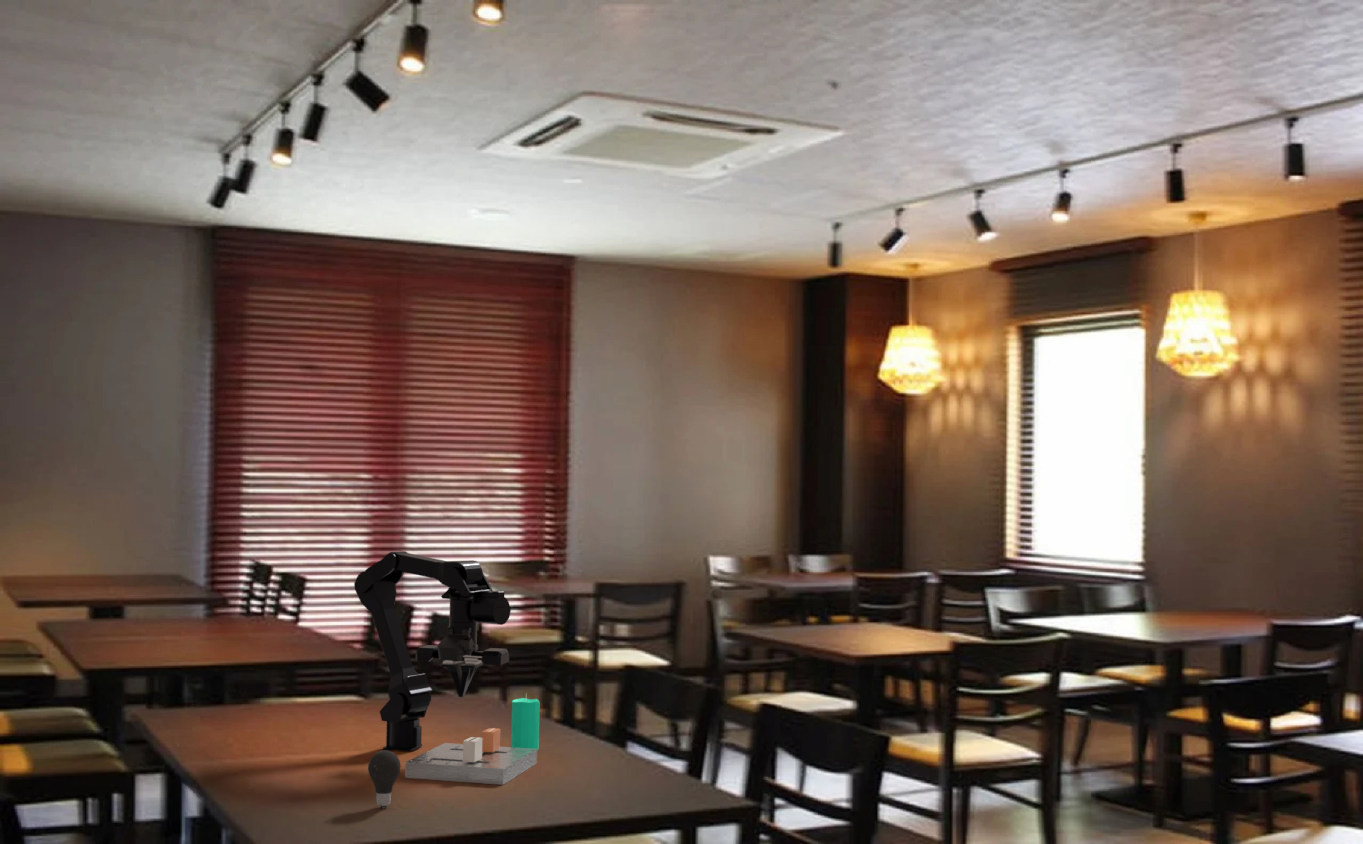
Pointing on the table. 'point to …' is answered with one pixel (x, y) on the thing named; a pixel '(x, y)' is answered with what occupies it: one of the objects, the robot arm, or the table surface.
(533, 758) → the grey slider board
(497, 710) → the table surface
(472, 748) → the fader cream
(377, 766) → the light bulb
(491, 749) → the fader orange
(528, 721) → the candle
